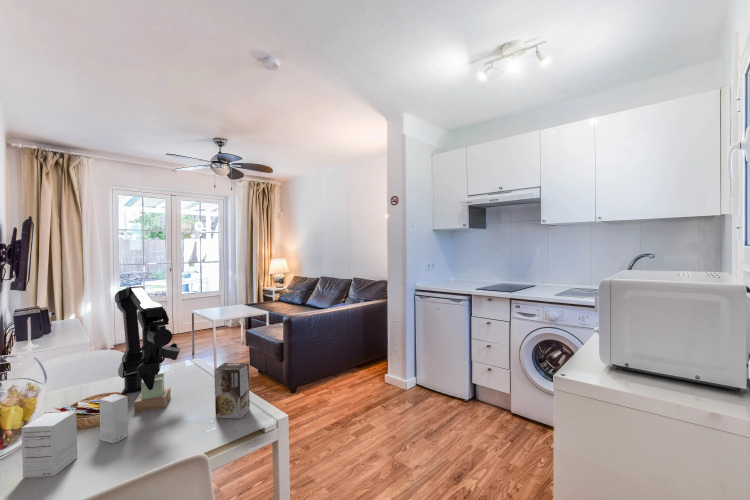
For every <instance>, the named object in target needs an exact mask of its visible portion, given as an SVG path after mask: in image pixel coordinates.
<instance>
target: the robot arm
mask: <svg viewBox="0 0 750 500" xmlns="http://www.w3.org/2000/svg"><path fill="white" fill-rule="evenodd" d="M114 303H115V304H116V306H117V309H118V310H119V311H120V312H121V313H122V317H123V328H124V329H123V330H124V340H125V351H124V353H123V355H122V357H121V362H120V365H119V368H118V370H117V374H118V377H120V378H121V379H123V381H124V382H123V383H124V385H123V386H124V388H123V390H121V394H122V393H123V394H128V393H135V392H139V391H140V392H141V382H142V380H143V381H144V383H145V385H146V386H147V388H148V389H149V390H152V389H153V385H154V380H155V375H157V374H159V373H160V371H161V367H162V366H161V365H162V363H163V362H164V361H165V359H171V360H173V361H176V360H177V359H178V356H179V354H180V351H181V348H180V347H178V343H175V342H172V343H171V341H172V340H173V333H172V331H171V330H170V329H167V325H169V324H170V323H169V321H170V318H169V315H168V313H167V310H166V309H165V307H164V306H163V305H161V304H160V303H159V302H155V301H153V300H152V299H151V298H150V296H149V295H148V293H147V292H146V291H145V287H144V285H141V284H139V285H129V286H126V288H124V289H120V290H118V291H117V292H116V293H115V294H114ZM139 324H140V326H141V331H142V332H141V336H142V337H141V338H142V341H141V339H140V330H139V329H140V328H139ZM141 342H142V345H141ZM170 343H171V344H170ZM169 344H170V345H169Z"/></svg>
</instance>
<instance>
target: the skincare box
mask: <svg viewBox="0 0 750 500" xmlns="http://www.w3.org/2000/svg"><path fill="white" fill-rule="evenodd" d="M128 398H129V397H128V395H123V394H117V393H113V394H110V395H108V396H105V397H101V398H100V399H99V439H100V441H103V442H106V443H110V444H111V443H112V444H115V443H116V444H117V443H118V442H119V441H121V440H123V439H126V438H127V437H129V412H128V411H129V407H128V406H129V405H128V404H129V403H128V402H129V401H128Z"/></svg>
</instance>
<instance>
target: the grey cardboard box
mask: <svg viewBox="0 0 750 500" xmlns="http://www.w3.org/2000/svg"><path fill="white" fill-rule="evenodd" d="M249 366H250V363H248V362H224V363H222V364H221V365H219V366H217V368H214V370H213V371H214V372H213V374H214V397H215V398H214V401H215V402H214V405H215V406H214V407H215V409H214V410H215V418H216V419H235V420H237V419H242V418H244V417H245V416H246V415H247V413H249V412H250V408H251V407H250V406H251V405H250V404H251V403H250V372H249V371H250V367H249Z"/></svg>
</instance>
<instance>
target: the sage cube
mask: <svg viewBox="0 0 750 500" xmlns="http://www.w3.org/2000/svg"><path fill="white" fill-rule="evenodd" d="M164 388H165V373H158V374H157V375H155V380H154V385H153V389H152V390H149V389H148V388H147V386H146V385H145V383H144V381H143V380H142V382H141V391H140V393H141V397H142V400H143V399H149V398H154V397H160V396H162V395H163V392H164Z"/></svg>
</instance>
